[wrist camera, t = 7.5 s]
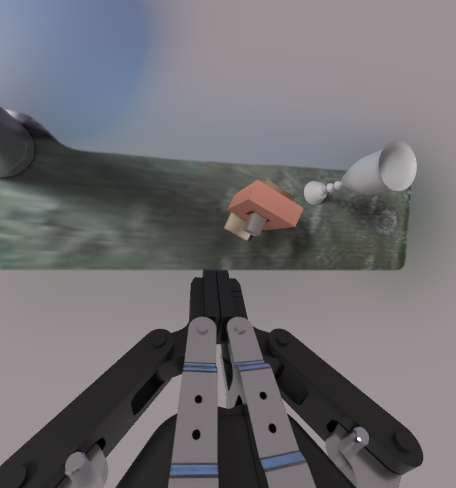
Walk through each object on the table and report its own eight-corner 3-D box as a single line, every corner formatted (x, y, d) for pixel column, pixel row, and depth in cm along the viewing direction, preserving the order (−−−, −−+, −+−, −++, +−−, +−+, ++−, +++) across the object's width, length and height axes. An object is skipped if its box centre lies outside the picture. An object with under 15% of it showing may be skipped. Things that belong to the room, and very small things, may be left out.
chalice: (315, 169, 49) (400, 130, 32) (333, 194, 51) (424, 169, 34) (293, 191, 48) (370, 162, 31) (312, 216, 49) (396, 201, 32)
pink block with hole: (227, 209, 41) (248, 198, 31) (234, 194, 41) (257, 179, 31) (264, 230, 43) (295, 226, 33) (271, 216, 43) (303, 208, 33)
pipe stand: (223, 228, 43) (246, 223, 32) (238, 196, 44) (267, 179, 33) (245, 240, 45) (275, 239, 33) (260, 208, 46) (294, 196, 34)
